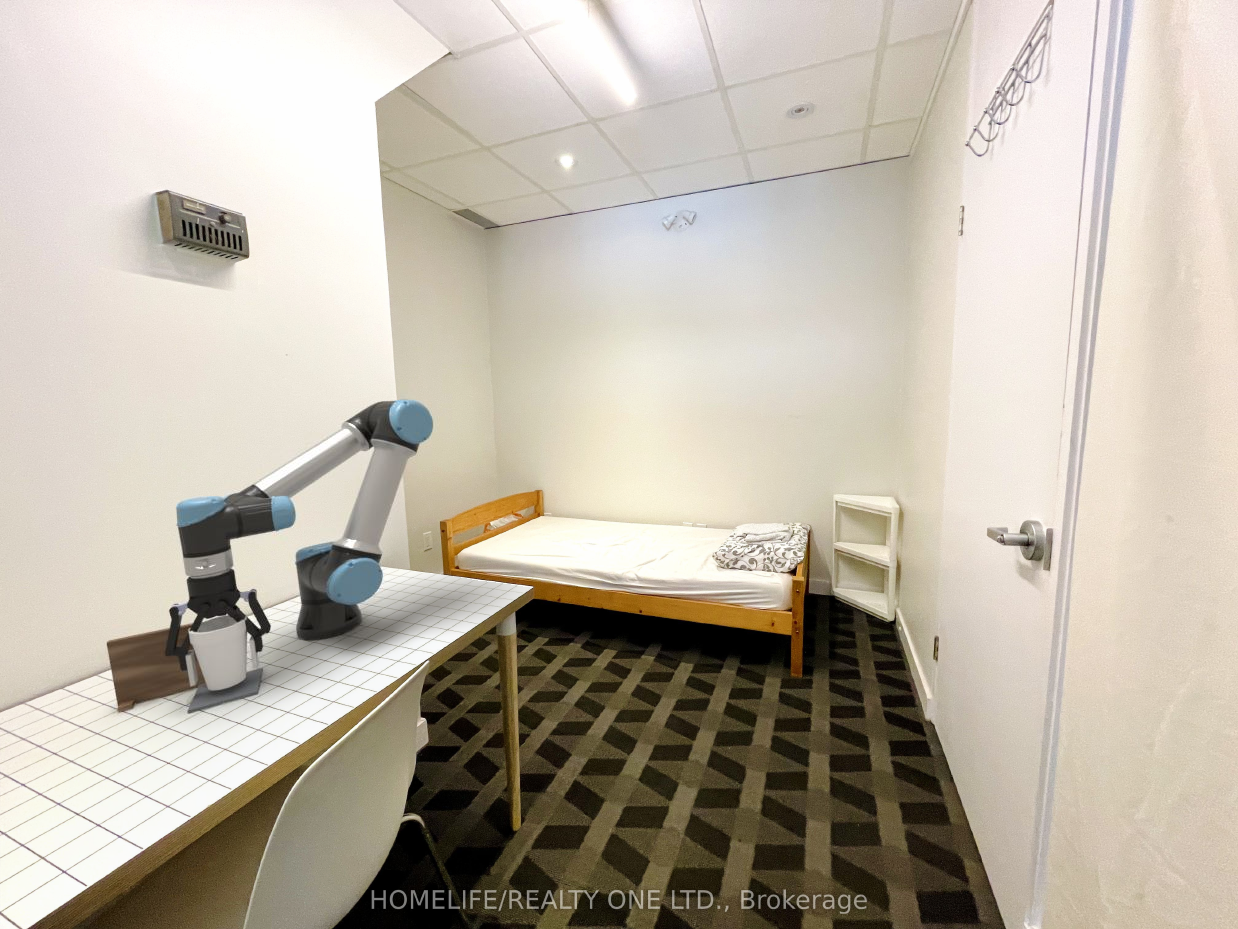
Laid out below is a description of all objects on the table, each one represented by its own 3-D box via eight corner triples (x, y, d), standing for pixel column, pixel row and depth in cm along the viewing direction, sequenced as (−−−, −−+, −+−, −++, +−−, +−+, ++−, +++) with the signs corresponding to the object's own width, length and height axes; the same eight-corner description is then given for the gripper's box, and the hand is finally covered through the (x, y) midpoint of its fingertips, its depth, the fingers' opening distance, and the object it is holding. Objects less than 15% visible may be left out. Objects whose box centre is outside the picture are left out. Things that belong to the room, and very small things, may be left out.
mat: (199, 687, 102) (199, 684, 102) (262, 670, 108) (262, 667, 108) (187, 713, 93) (187, 710, 93) (257, 693, 99) (257, 691, 99)
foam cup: (265, 673, 103) (257, 616, 101) (217, 698, 94) (208, 636, 93) (235, 666, 106) (227, 611, 104) (186, 690, 97) (177, 630, 96)
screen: (123, 700, 98) (112, 636, 96) (222, 675, 106) (213, 615, 105) (114, 713, 94) (102, 646, 92) (218, 685, 102) (209, 624, 101)
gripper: (129, 591, 88) (149, 702, 91) (275, 565, 100) (288, 665, 103) (142, 579, 95) (160, 684, 97) (278, 557, 106) (290, 651, 109)
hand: (226, 674), depth 100 cm, fingers closed on foam cup, 9 cm apart
